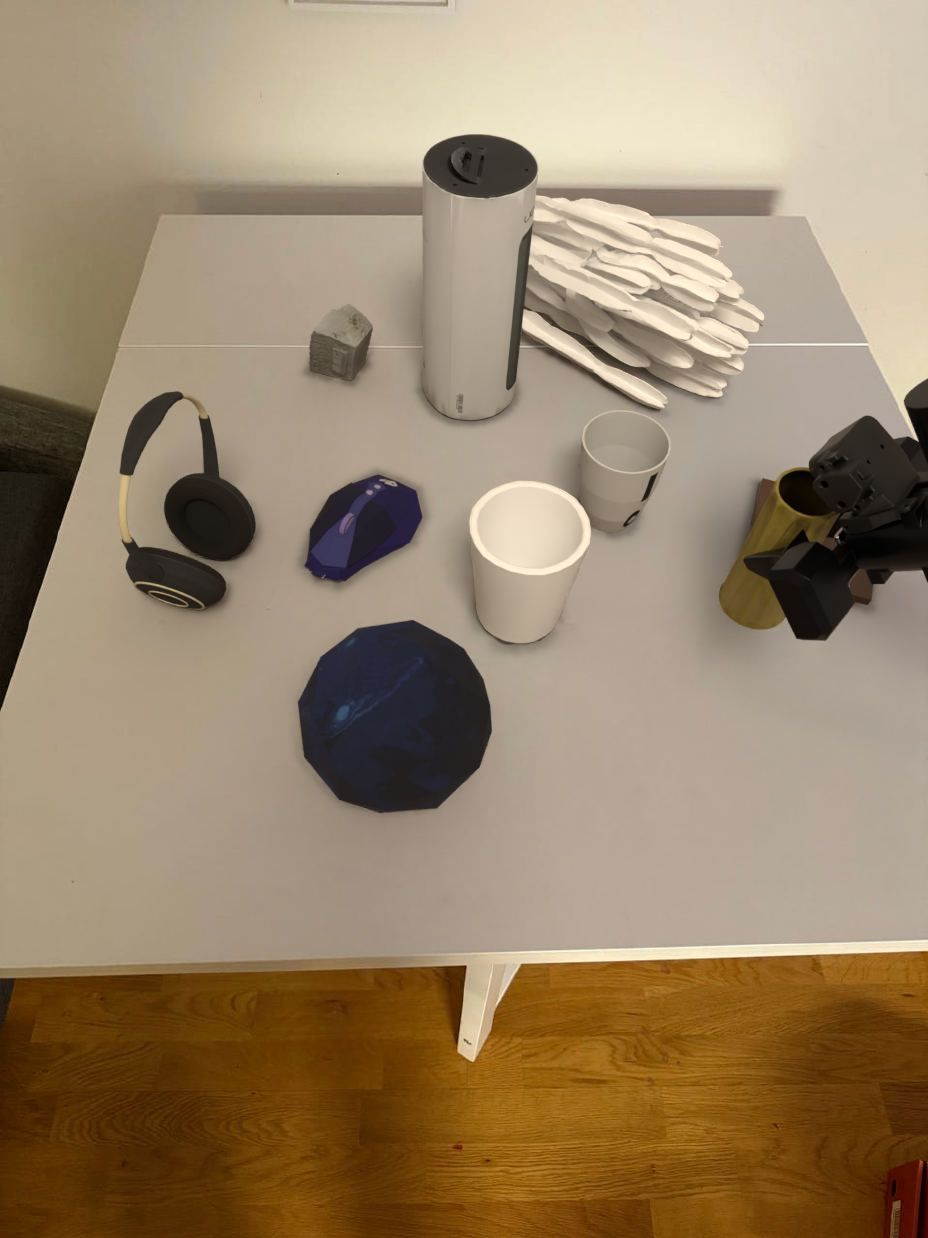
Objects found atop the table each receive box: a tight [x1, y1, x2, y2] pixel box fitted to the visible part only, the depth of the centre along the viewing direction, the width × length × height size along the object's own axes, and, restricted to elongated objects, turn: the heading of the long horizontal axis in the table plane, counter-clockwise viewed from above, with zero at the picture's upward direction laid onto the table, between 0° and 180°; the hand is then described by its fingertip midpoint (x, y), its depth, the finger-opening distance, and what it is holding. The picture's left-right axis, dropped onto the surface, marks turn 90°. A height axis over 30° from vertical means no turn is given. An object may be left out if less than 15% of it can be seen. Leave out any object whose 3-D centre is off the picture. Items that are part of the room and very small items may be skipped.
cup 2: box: [578, 409, 672, 533], centre depth 83 cm, size 8×8×10 cm
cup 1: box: [468, 480, 592, 645], centre depth 75 cm, size 10×10×13 cm
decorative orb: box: [297, 619, 493, 814], centre depth 66 cm, size 14×15×15 cm
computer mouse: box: [304, 474, 423, 583], centre depth 83 cm, size 9×15×4 cm, turn 152°
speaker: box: [421, 133, 540, 422], centre depth 86 cm, size 11×10×26 cm
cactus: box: [521, 194, 765, 410], centre depth 96 cm, size 17×18×35 cm
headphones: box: [117, 390, 257, 611], centre depth 73 cm, size 9×15×20 cm, turn 165°
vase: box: [718, 466, 840, 631], centre depth 70 cm, size 6×6×14 cm
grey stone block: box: [308, 303, 374, 382], centre depth 94 cm, size 7×9×8 cm
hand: (764, 542), depth 71 cm, fingers closed on vase, 5 cm apart
